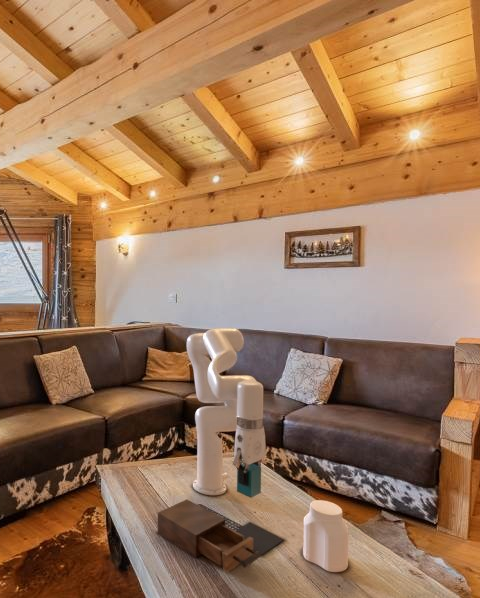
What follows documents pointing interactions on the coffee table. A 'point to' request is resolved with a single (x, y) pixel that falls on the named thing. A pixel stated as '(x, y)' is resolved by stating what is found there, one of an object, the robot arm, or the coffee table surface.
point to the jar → (326, 536)
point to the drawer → (227, 547)
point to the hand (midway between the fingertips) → (248, 481)
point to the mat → (260, 537)
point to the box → (251, 481)
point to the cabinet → (187, 524)
